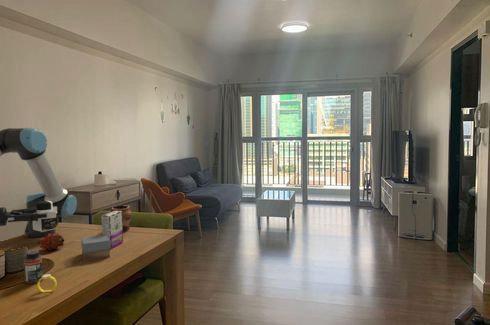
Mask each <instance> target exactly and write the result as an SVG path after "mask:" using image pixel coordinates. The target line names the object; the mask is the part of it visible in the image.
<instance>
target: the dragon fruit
mask: <svg viewBox="0 0 490 325" xmlns="http://www.w3.org/2000/svg"><path fill="white" fill-rule="evenodd" d="M64 242H65V238H64V237H63V236H62V235H60V234H59V233H57V232H56V233H54V234H47V236H44V238H43V237H42V239H39V240H38V241H37V245H40V247H39V248H41V249H42V250H44V249H45V250H48V251H49V252H50V251H53V250H58V249H59V248H60V247H63V246H65V243H64Z"/></svg>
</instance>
